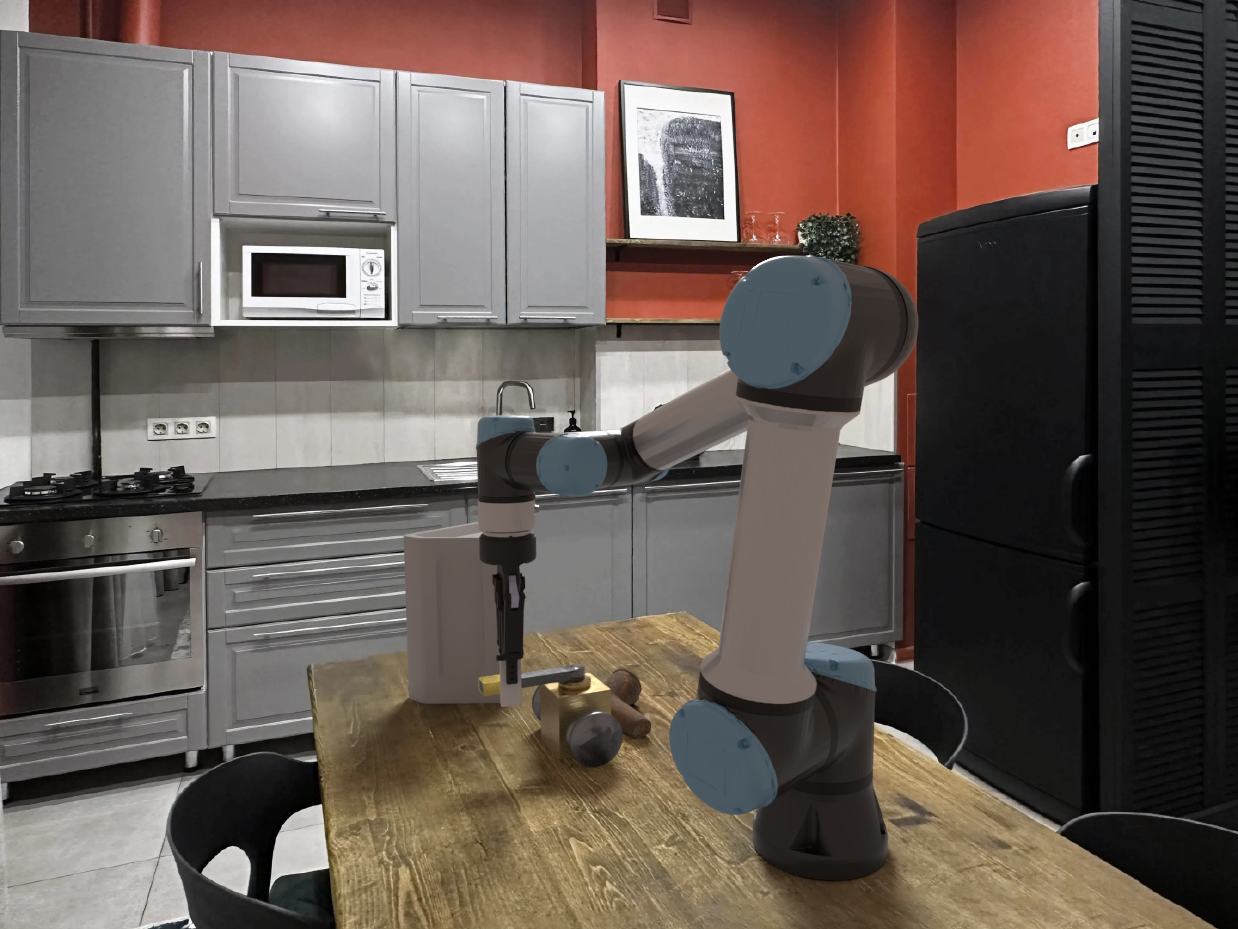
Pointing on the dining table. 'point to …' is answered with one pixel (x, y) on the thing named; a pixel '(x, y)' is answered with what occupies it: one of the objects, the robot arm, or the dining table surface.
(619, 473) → the robot arm
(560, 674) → the lever
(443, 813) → the dining table surface
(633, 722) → the pipe
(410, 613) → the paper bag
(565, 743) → the valve body
